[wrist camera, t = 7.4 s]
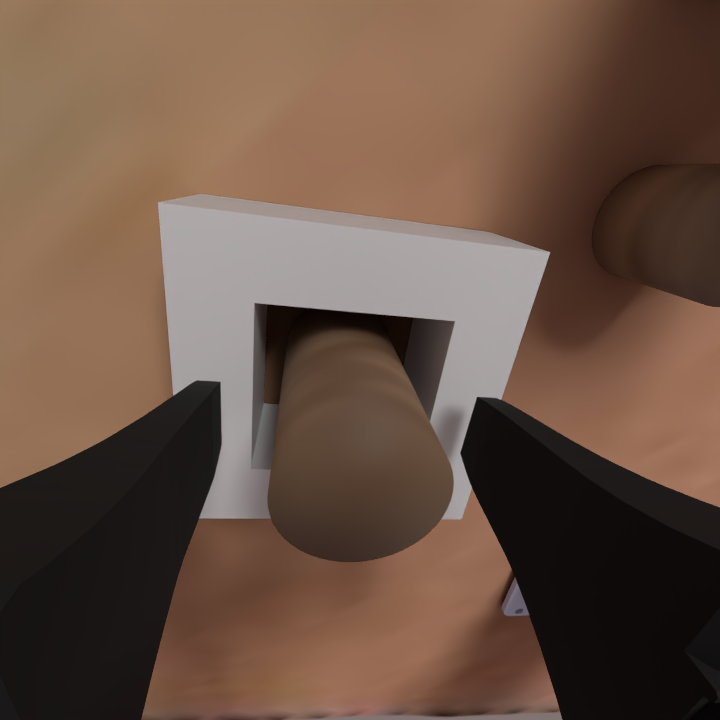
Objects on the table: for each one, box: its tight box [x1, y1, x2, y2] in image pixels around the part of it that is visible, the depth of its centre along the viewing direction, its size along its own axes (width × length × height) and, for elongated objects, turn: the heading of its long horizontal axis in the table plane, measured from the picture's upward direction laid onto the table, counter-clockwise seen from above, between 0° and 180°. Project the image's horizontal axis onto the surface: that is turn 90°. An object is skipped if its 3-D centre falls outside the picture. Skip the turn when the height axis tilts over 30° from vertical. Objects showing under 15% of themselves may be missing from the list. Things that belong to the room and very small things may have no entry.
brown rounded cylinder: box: [267, 308, 454, 562], centre depth 12 cm, size 4×4×8 cm
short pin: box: [592, 164, 720, 307], centre depth 13 cm, size 4×4×4 cm
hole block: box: [158, 194, 550, 519], centre depth 14 cm, size 10×10×4 cm
